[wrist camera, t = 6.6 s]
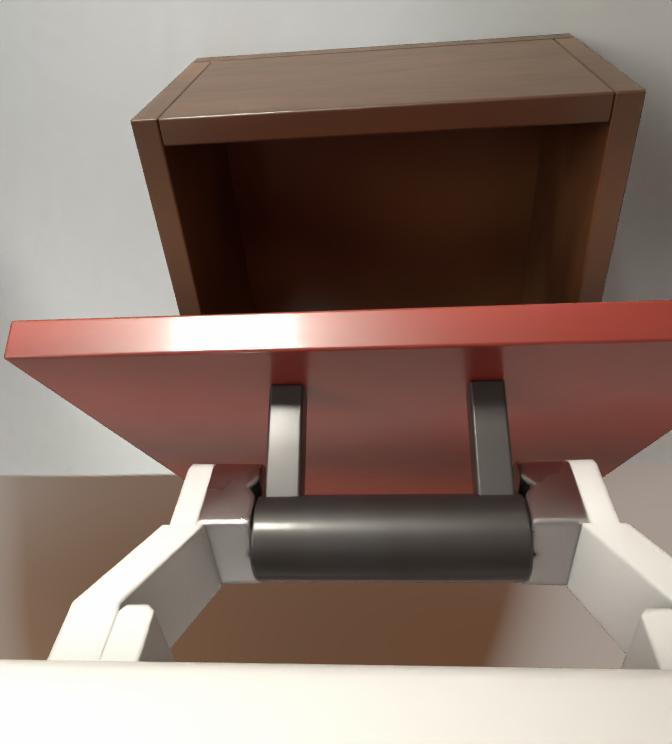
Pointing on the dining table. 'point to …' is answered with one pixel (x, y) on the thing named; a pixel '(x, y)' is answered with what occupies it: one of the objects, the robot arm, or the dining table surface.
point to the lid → (374, 419)
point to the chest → (391, 176)
